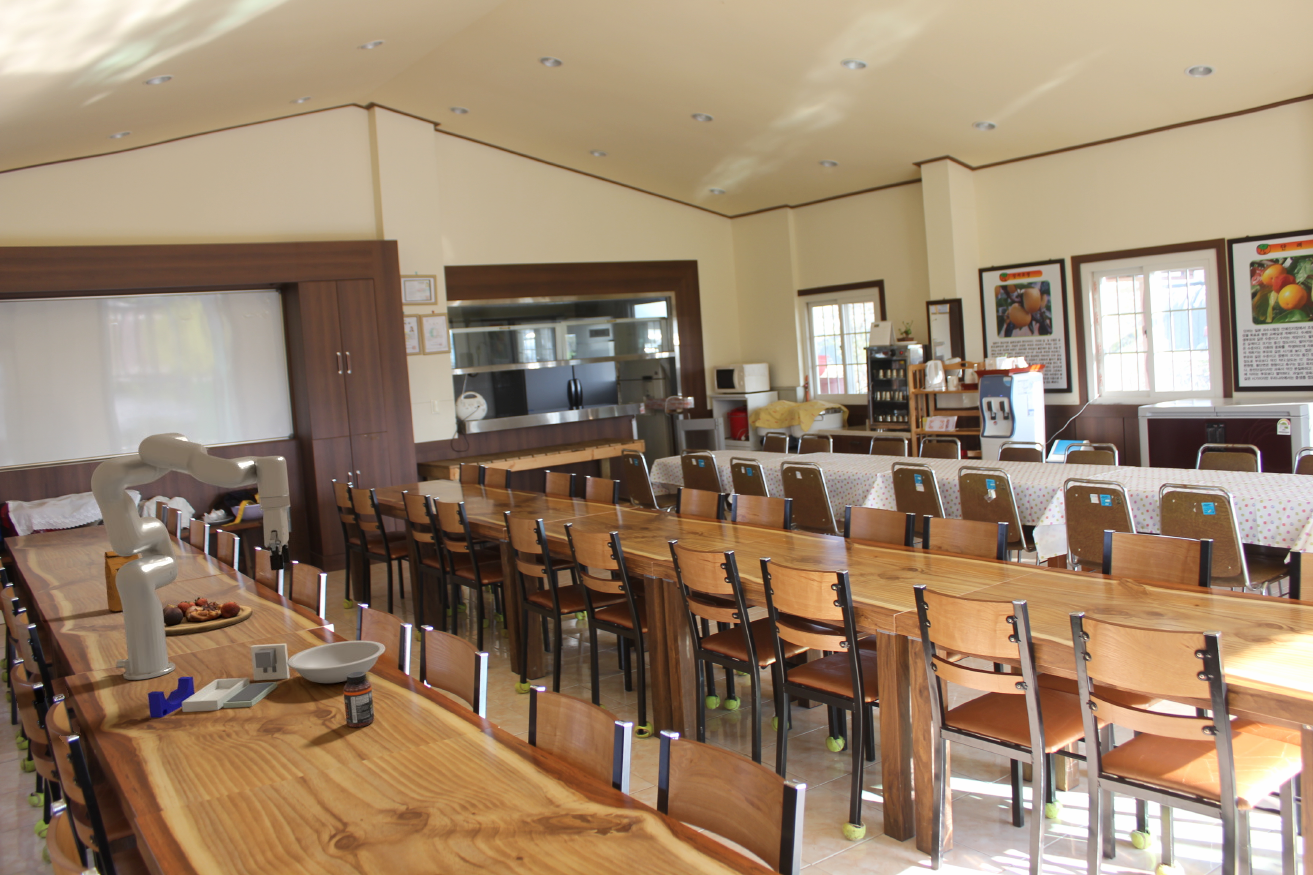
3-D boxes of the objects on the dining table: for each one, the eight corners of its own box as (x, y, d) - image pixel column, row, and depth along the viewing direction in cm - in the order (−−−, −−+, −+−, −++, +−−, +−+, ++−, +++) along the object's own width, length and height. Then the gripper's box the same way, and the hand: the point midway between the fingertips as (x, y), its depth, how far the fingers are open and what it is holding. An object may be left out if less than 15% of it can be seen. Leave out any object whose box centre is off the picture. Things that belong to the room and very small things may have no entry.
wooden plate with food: (272, 615, 321) (270, 591, 320) (182, 640, 294) (180, 613, 294) (217, 609, 338) (214, 586, 338) (127, 632, 311) (124, 607, 311)
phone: (223, 707, 228) (223, 702, 228) (250, 688, 242) (249, 682, 242) (252, 706, 227) (251, 700, 227) (277, 686, 241) (276, 681, 241)
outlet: (248, 684, 245) (244, 650, 244) (256, 678, 249) (252, 645, 249) (282, 682, 245) (279, 648, 244) (289, 676, 249) (286, 643, 248)
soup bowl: (405, 666, 252) (403, 641, 252) (348, 697, 230) (346, 670, 229) (330, 662, 260) (328, 638, 260) (268, 692, 238) (266, 666, 237)
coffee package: (151, 607, 344) (145, 547, 342) (112, 614, 336) (106, 553, 334) (144, 603, 352) (138, 544, 350) (106, 610, 343) (100, 550, 342)
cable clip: (179, 700, 236) (176, 676, 236) (195, 700, 236) (192, 676, 235) (144, 718, 225) (142, 693, 224) (161, 718, 224) (159, 693, 223)
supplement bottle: (345, 721, 213) (340, 672, 212) (372, 716, 215) (368, 667, 215) (347, 730, 208) (343, 679, 207) (376, 724, 210) (371, 674, 209)
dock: (182, 711, 227) (181, 702, 227) (216, 688, 243) (216, 679, 243) (218, 709, 226) (217, 700, 226) (249, 686, 243) (248, 677, 243)
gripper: (265, 500, 259) (271, 561, 260) (253, 508, 242) (259, 574, 243) (294, 497, 260) (300, 558, 262) (284, 505, 244) (290, 571, 245)
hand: (280, 566), depth 252 cm, fingers open, 9 cm apart
